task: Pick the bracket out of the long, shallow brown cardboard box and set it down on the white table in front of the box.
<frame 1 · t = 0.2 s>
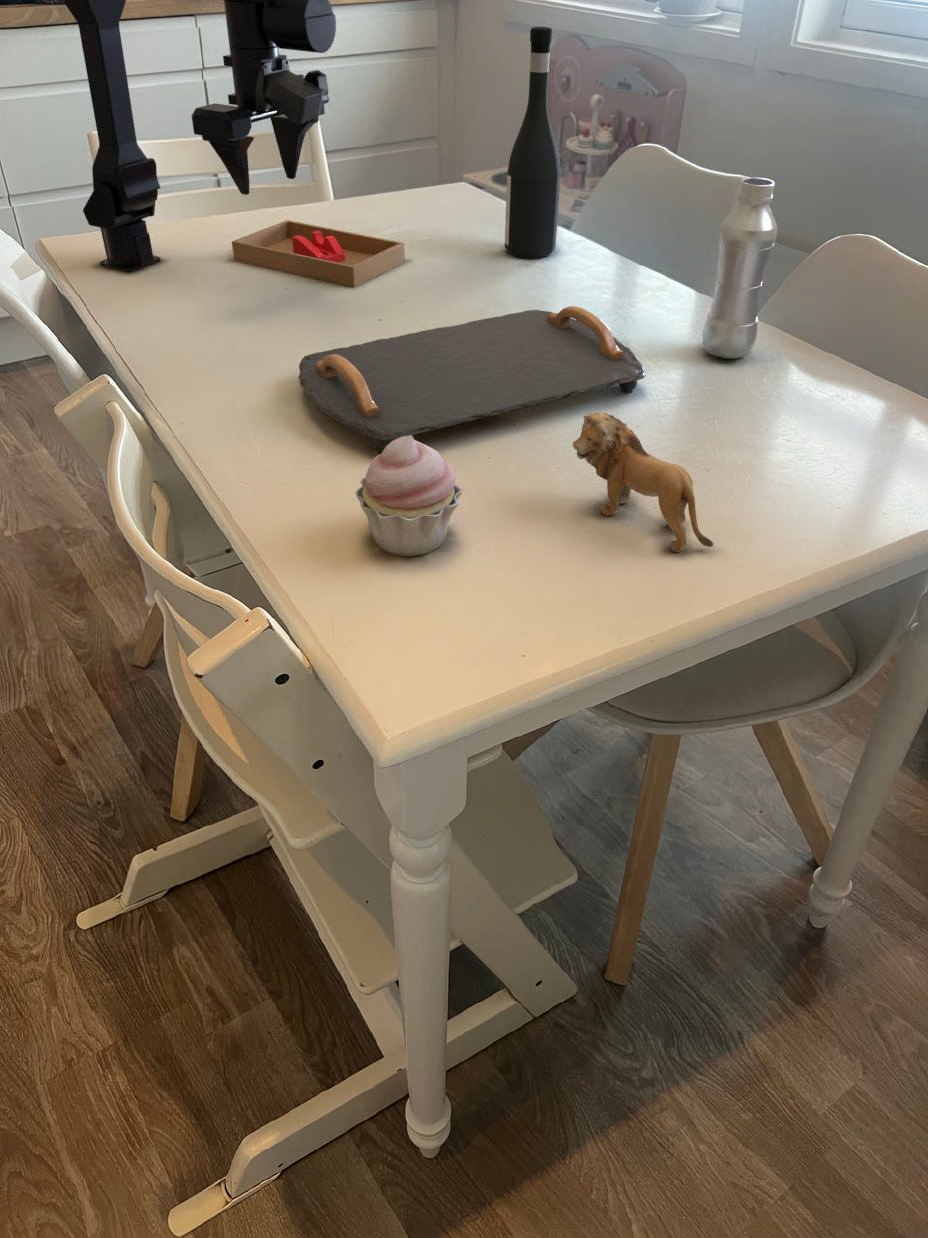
hand: (268, 185, 123), 15 cm above the table, tool pointing down, fingers open, 9 cm apart
cardboard box: (319, 261, 145), on the table
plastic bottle: (725, 355, 119), on the table
serving tray: (471, 389, 110), on the table
wine bottle: (529, 253, 149), on the table
bracket: (319, 260, 145), resting in cardboard box
lion figurine: (633, 522, 88), on the table
cupcake: (410, 539, 85), on the table
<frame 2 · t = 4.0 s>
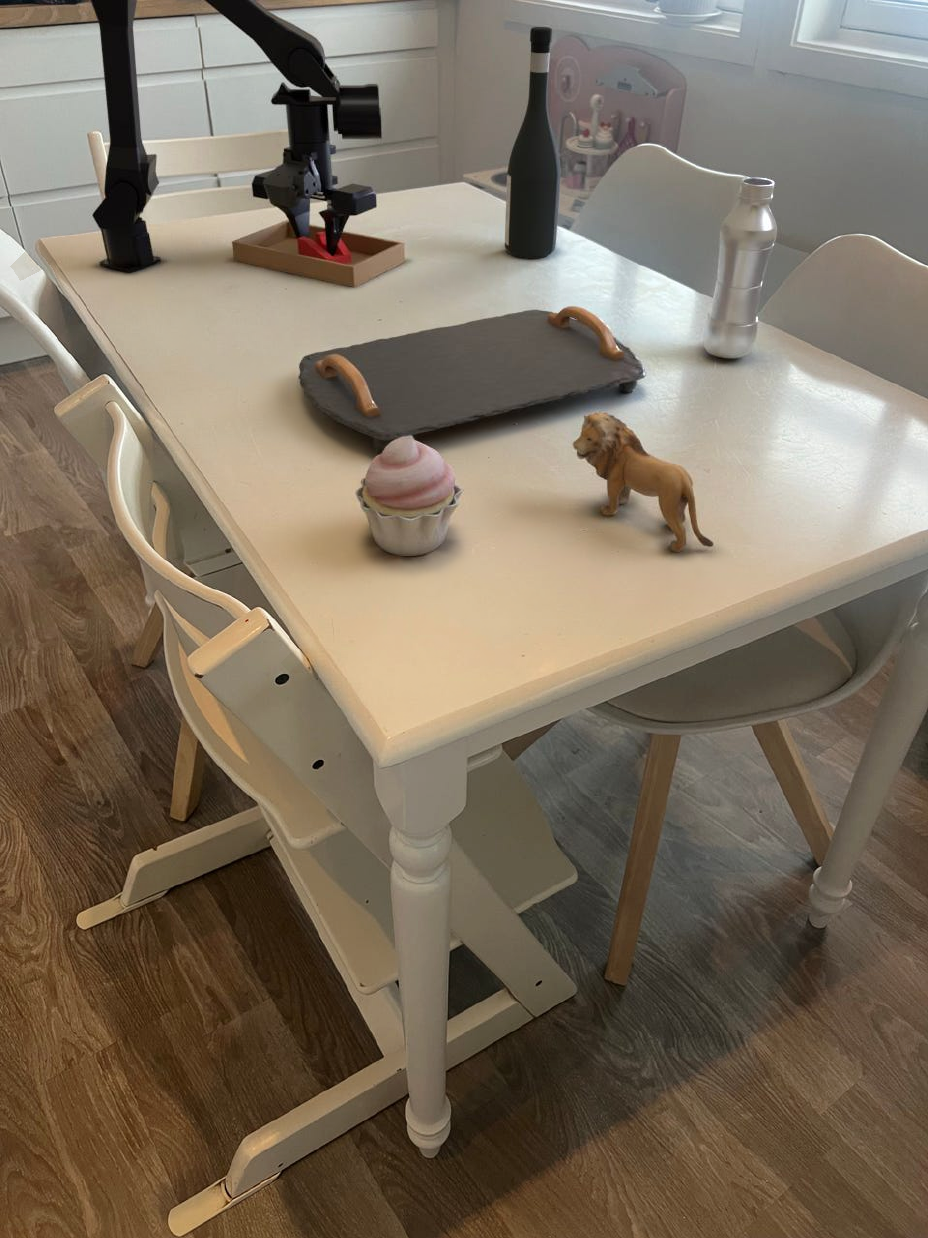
hand: (317, 252, 144), 1 cm above the table, tool pointing down, fingers closed on bracket, 4 cm apart
bracket: (325, 261, 144), resting in cardboard box, touching gripper
everything else where it was.
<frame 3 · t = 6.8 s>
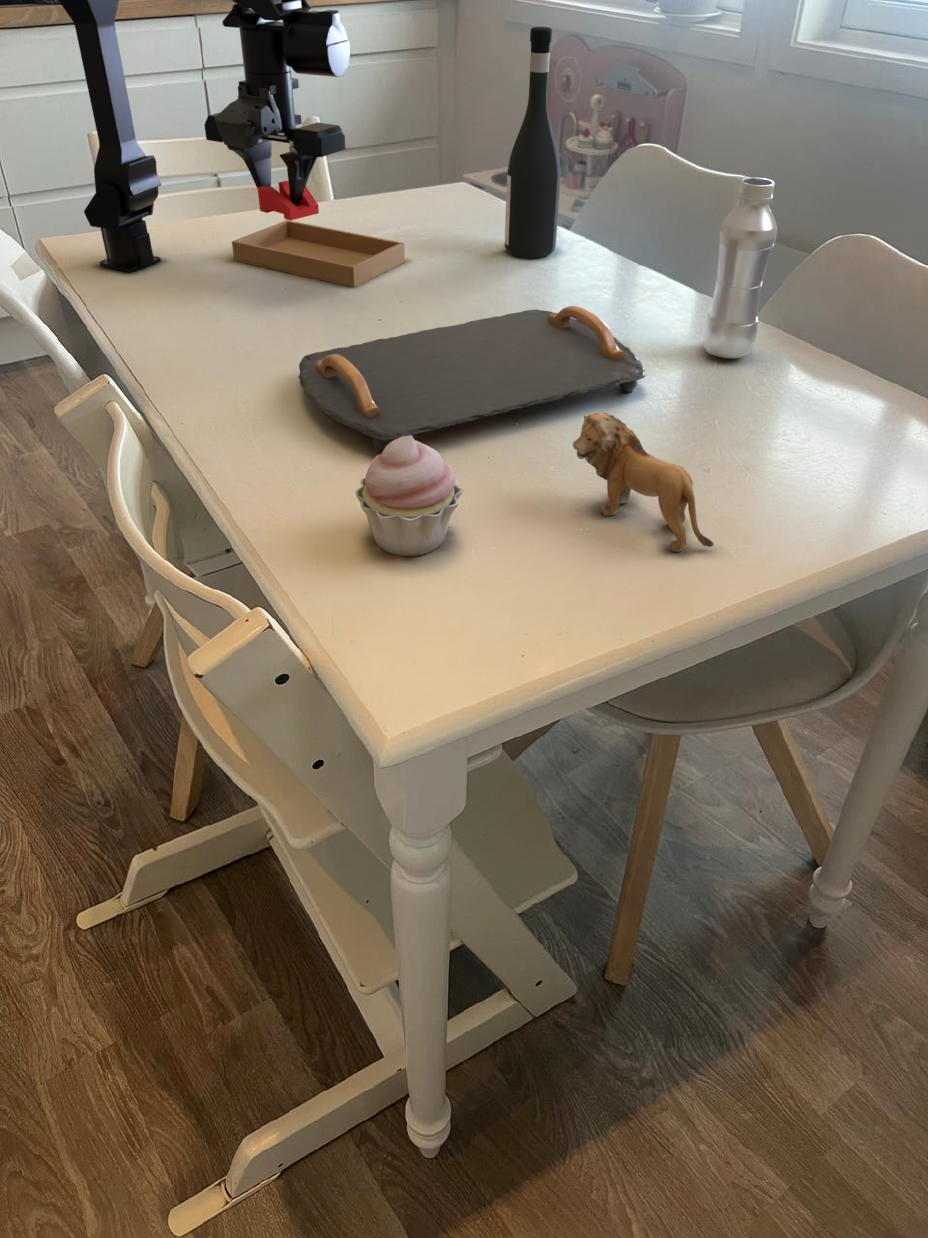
hand: (280, 203, 128), 11 cm above the table, tool pointing down, fingers closed on bracket, 4 cm apart
bracket: (289, 213, 128), point 10 cm above the table, touching gripper
everything else where it was.
when the fingers open (1 cm above the table, at t = 10.0 s): bracket stays where it is, on the table.
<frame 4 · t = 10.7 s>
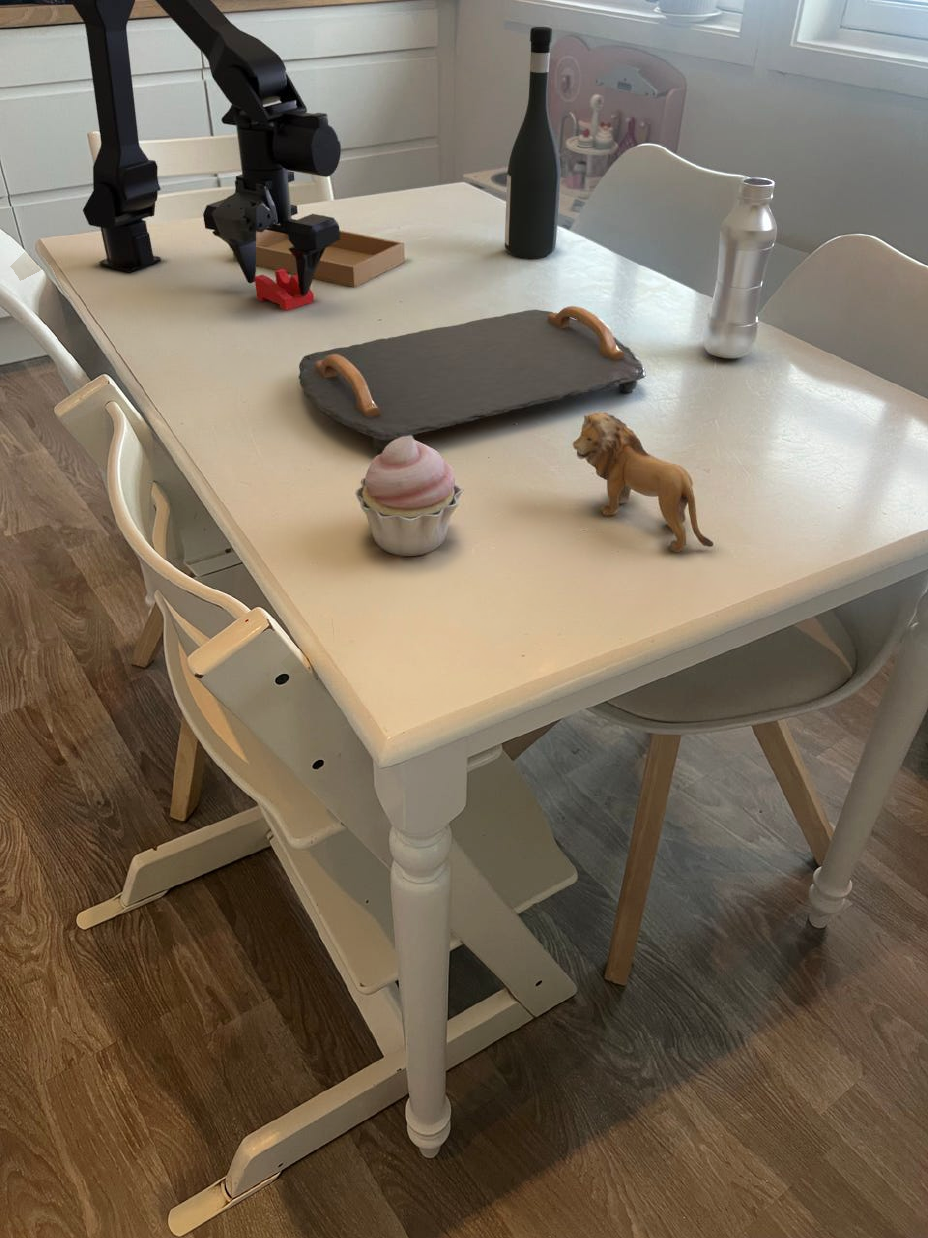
hand: (277, 288, 131), 1 cm above the table, tool pointing down, fingers open, 9 cm apart
bracket: (285, 301, 132), on the table
everything else where it was.
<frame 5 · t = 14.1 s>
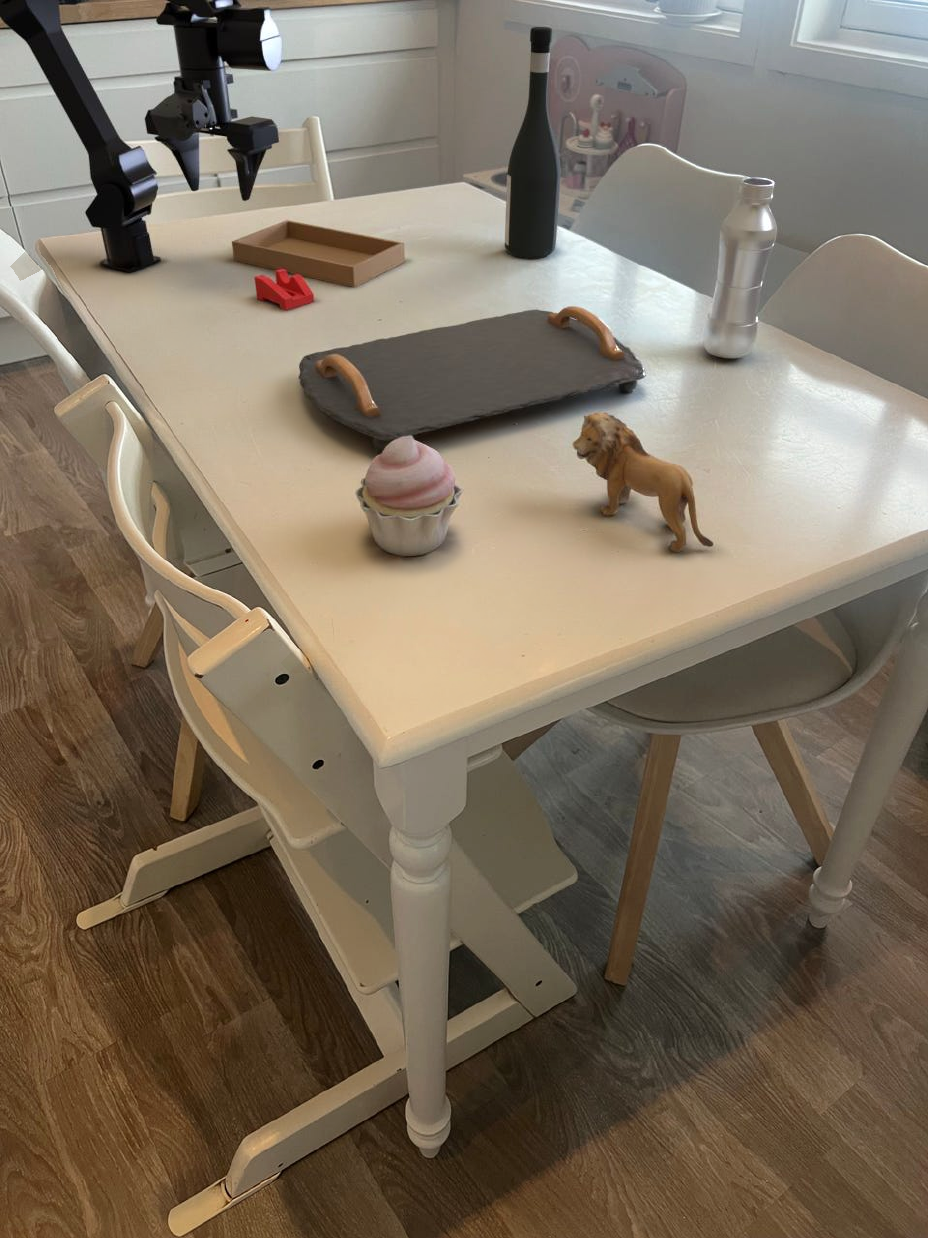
hand: (220, 195, 132), 11 cm above the table, tool pointing down, fingers open, 9 cm apart
nothing on the table moved.
at the end: bracket inside the target area (1.1 cm from its centre), on the table; bracket tilted 0°; the gripper is holding nothing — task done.
